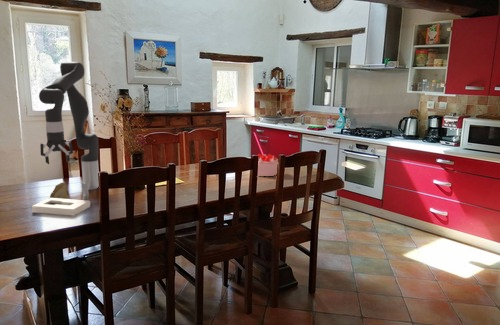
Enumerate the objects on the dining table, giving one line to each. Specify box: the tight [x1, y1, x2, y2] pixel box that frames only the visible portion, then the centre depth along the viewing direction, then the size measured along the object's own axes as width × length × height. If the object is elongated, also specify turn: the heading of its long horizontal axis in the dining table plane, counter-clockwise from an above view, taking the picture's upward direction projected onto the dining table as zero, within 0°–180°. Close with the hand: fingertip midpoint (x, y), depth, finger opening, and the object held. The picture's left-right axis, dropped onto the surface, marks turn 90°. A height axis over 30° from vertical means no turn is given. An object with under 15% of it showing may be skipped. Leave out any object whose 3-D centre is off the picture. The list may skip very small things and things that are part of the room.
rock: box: [49, 182, 70, 199], centre depth 207 cm, size 11×9×10 cm
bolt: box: [81, 181, 92, 206], centre depth 199 cm, size 5×5×12 cm
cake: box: [257, 153, 279, 177], centre depth 277 cm, size 20×20×14 cm
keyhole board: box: [31, 197, 91, 217], centre depth 191 cm, size 14×22×4 cm, turn 81°
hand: (57, 163), depth 188 cm, fingers open, 8 cm apart
